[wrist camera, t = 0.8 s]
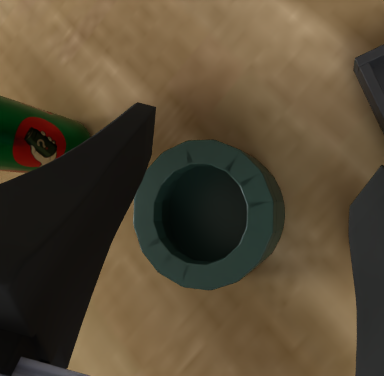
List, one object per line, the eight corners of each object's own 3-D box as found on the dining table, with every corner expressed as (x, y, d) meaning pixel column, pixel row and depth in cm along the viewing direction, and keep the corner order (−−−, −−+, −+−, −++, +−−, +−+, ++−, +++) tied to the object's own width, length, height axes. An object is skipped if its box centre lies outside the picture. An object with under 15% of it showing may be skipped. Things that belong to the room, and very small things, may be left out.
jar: (305, 252, 24) (298, 263, 19) (189, 289, 27) (158, 306, 22) (256, 131, 26) (239, 114, 21) (152, 178, 29) (116, 173, 24)
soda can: (86, 111, 31) (-52, 59, 20) (102, 164, 30) (-32, 139, 19) (43, 135, 33) (-105, 99, 22) (58, 186, 32) (-90, 176, 21)
